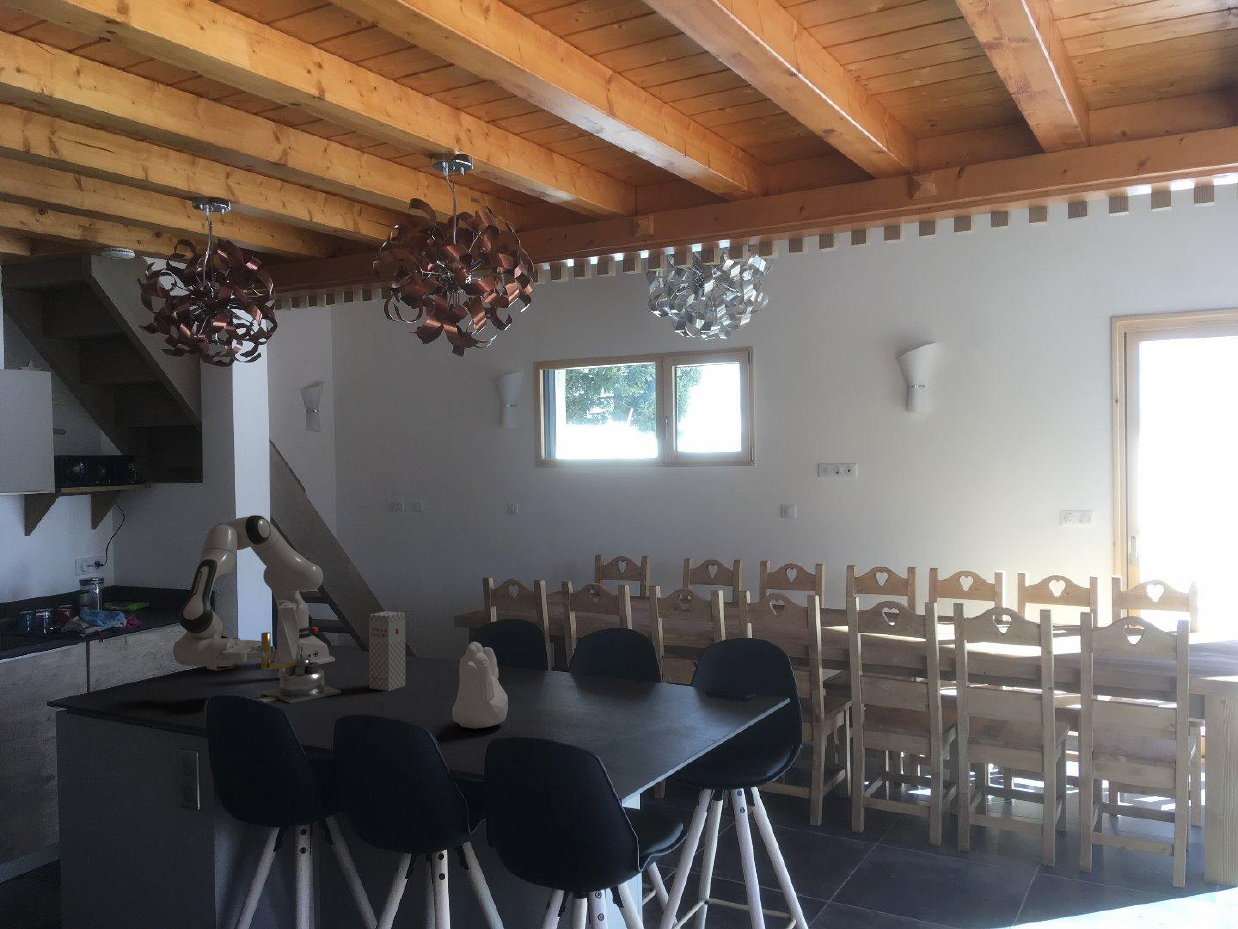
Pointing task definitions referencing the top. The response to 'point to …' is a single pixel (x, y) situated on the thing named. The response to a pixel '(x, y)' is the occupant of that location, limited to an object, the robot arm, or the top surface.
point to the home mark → (267, 699)
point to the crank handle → (290, 667)
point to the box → (386, 650)
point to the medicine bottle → (220, 666)
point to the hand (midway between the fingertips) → (269, 652)
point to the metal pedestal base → (301, 687)
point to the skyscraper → (287, 633)
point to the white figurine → (479, 690)
